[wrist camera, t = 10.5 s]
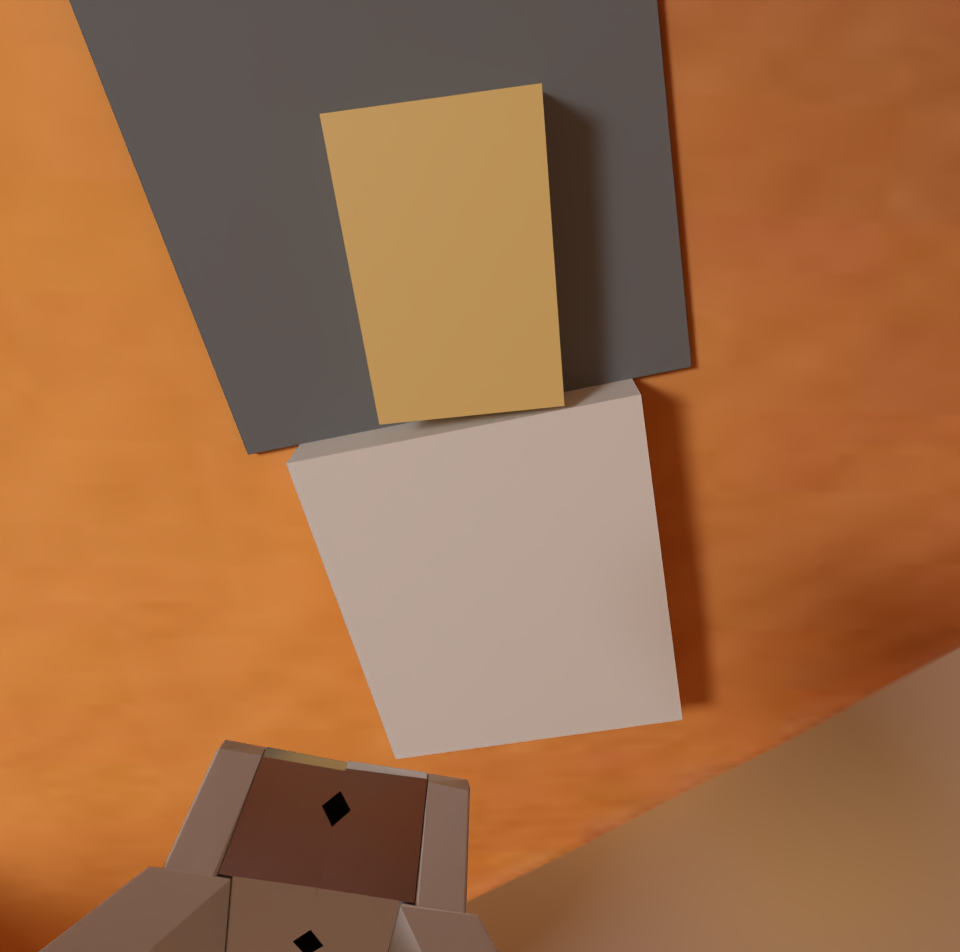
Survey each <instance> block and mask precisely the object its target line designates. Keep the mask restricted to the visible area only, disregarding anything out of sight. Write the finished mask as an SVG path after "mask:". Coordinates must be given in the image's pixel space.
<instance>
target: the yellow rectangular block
mask: <svg viewBox="0 0 960 952" xmlns="http://www.w3.org/2000/svg"><path fill="white" fill-rule="evenodd" d="M320 120H321V125H322V130H323V135H324V140H325V145H326V151H327V156H328V161H329V166H330V171H331V177H332V182H333V187H334V192H335V197H336V203H337V208H338V213H339V218H340V223H341V228H342V234H343V239H344V244H345V249H346V254H347V260H348V265H349V270H350V275H351V280H352V285H353V291H354V296H355V301H356V306H357V311H358V317H359V322H360V327H361V332H362V337H363V342H364V348H365V353H366V358H367V363H368V368H369V374H370V379H371V384H372V389H373V394H374V400H375V405H376V410H377V415H378V420H379V425H382V424H391V423H401V422H411V421H421V420H431V419H441V418H451V417H461V416H470V415H480V414H490V413H500V412H510V411H520V410H530V409H540V408H549V407H559V406H565V405H564V391H563V377H562V363H561V349H560V334H559V320H558V306H557V292H556V278H555V263H554V249H553V235H552V221H551V207H550V192H549V178H548V164H547V150H546V136H545V121H544V107H543V93H542V83H539V84H531V85H524V86H517V87H510V88H503V89H495V90H488V91H481V92H474V93H467V94H459V95H452V96H445V97H438V98H431V99H423V100H416V101H409V102H402V103H394V104H387V105H380V106H373V107H366V108H358V109H351V110H344V111H337V112H330V113H322V114H320Z"/></svg>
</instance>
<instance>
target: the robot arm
mask: <svg viewBox="0 0 960 952" xmlns="http://www.w3.org/2000/svg"><path fill="white" fill-rule="evenodd" d="M469 804H470V786H469V783H468V781H467V780H465V779H459V778H453V777H447V776H440V775H434V774H428V775H427V774H426V772H419V771H413V770H406V769H399V768H393V767H386V766H379V765H372V764H366V763H359V762H352V761H348V762H344V761H338V760H333V759H328V758H323V757H317V756H312V755H307V754H302V753H296V752H291V751H286V750H281V749H275V748H270V747H263V746H257V745H251V744H246V743H240V742H235V741H229V740H225V741H224V742H223V743H222V745H221V746H220V747H219V749H218V750H217V751H216V753H215V755H214V757H213V760H212V762H211V764H210V766H209V768H208V771H207V773H206V775H205V777H204V779H203V781H202V784H201V786H200V788H199V790H198V792H197V794H196V797H195V799H194V801H193V803H192V805H191V807H190V810H189V812H188V814H187V816H186V818H185V820H184V823H183V825H182V827H181V829H180V831H179V834H178V836H177V838H176V840H175V842H174V844H173V847H172V849H171V851H170V853H169V855H168V857H167V860H166V862H165V864H164V866H163V868H158V867H150V866H149V867H147V868H146V869H145V870H143V871H142V872H141V873H140V874H138V875H137V876H136V877H134V878H133V879H132V880H130V881H129V882H128V883H127V884H125V885H124V886H123V887H121V888H120V889H119V890H118V891H116V892H115V893H114V894H112V895H111V896H110V897H108V898H107V899H106V900H105V901H103V902H102V903H101V904H99V905H98V906H97V907H96V908H94V909H93V910H92V911H90V912H89V913H88V914H86V915H85V916H84V917H83V918H81V919H80V920H79V921H77V922H76V923H75V924H74V925H72V926H71V927H70V928H68V929H67V930H66V931H64V932H63V933H62V934H61V935H59V936H58V937H57V938H55V939H54V940H53V941H51V942H50V943H49V944H48V945H46V946H45V947H44V948H42V949H41V950H40V951H39V952H499V951H498V950H497V948H496V946H495V944H494V942H493V940H492V938H491V937H490V935H489V933H488V931H487V929H486V927H485V925H484V924H483V922H482V920H481V918H480V916H479V915H475V914H470V913H466V901H467V869H468V836H469Z"/></svg>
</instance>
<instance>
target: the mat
mask: <svg viewBox="0 0 960 952" xmlns="http://www.w3.org/2000/svg"><path fill="white" fill-rule="evenodd" d="M69 1H70V3H71V6H72V8H73V11H74V14H75V16H76V19H77V21H78V24H79V26H80V29H81V31H82V34H83V36H84V39H85V41H86V44H87V47H88V49H89V52H90V54H91V57H92V59H93V62H94V64H95V67H96V69H97V72H98V75H99V77H100V80H101V82H102V85H103V87H104V90H105V92H106V95H107V97H108V100H109V102H110V105H111V108H112V110H113V113H114V115H115V118H116V120H117V123H118V125H119V128H120V130H121V133H122V135H123V138H124V141H125V143H126V146H127V148H128V151H129V153H130V156H131V158H132V161H133V163H134V166H135V168H136V171H137V174H138V176H139V179H140V181H141V184H142V186H143V189H144V191H145V194H146V196H147V199H148V202H149V204H150V207H151V209H152V212H153V214H154V217H155V219H156V222H157V224H158V227H159V229H160V232H161V235H162V237H163V240H164V242H165V245H166V247H167V250H168V252H169V255H170V257H171V260H172V262H173V265H174V268H175V270H176V273H177V275H178V278H179V280H180V283H181V285H182V288H183V290H184V293H185V295H186V298H187V301H188V303H189V306H190V308H191V311H192V313H193V316H194V318H195V321H196V323H197V326H198V328H199V331H200V334H201V336H202V339H203V341H204V344H205V346H206V349H207V351H208V354H209V356H210V359H211V362H212V364H213V367H214V369H215V372H216V374H217V377H218V379H219V382H220V384H221V387H222V389H223V392H224V395H225V397H226V400H227V402H228V405H229V407H230V410H231V412H232V415H233V417H234V420H235V422H236V425H237V428H238V430H239V433H240V435H241V438H242V440H243V443H244V445H245V448H246V450H247V453H248V455H249V454H254V453H259V452H264V451H269V450H274V449H279V448H284V447H289V446H294V445H299V444H304V443H309V442H314V441H319V440H324V439H330V438H335V437H340V436H345V435H350V434H355V433H360V432H365V431H370V430H375V429H380V428H385V427H390V426H395V425H400V424H405V423H410V422H401V423H391V424H382V425H379V420H378V415H377V410H376V405H375V400H374V394H373V389H372V384H371V379H370V374H369V368H368V363H367V358H366V353H365V348H364V342H363V337H362V332H361V327H360V322H359V317H358V311H357V306H356V301H355V296H354V291H353V285H352V280H351V275H350V270H349V265H348V260H347V254H346V249H345V244H344V239H343V234H342V228H341V223H340V218H339V213H338V208H337V203H336V197H335V192H334V187H333V182H332V177H331V171H330V166H329V161H328V156H327V151H326V145H325V140H324V135H323V130H322V125H321V120H320V114H322V113H330V112H337V111H344V110H351V109H358V108H366V107H373V106H380V105H387V104H394V103H402V102H409V101H416V100H423V99H431V98H438V97H445V96H452V95H459V94H467V93H474V92H481V91H488V90H495V89H503V88H510V87H517V86H524V85H531V84H539V83H542V93H543V107H544V121H545V136H546V150H547V164H548V178H549V192H550V207H551V221H552V235H553V249H554V263H555V278H556V292H557V306H558V320H559V334H560V349H561V363H562V377H563V391H564V392H566V391H571V390H576V389H582V388H587V387H592V386H597V385H602V384H607V383H612V382H617V381H622V380H627V379H632V378H637V377H642V376H647V375H652V374H657V373H662V372H667V371H672V370H677V369H682V368H687V367H691V358H690V347H689V336H688V326H687V315H686V304H685V294H684V283H683V272H682V262H681V251H680V240H679V230H678V219H677V209H676V198H675V187H674V177H673V166H672V155H671V145H670V134H669V123H668V113H667V102H666V91H665V81H664V70H663V59H662V49H661V38H660V27H659V17H658V6H657V0H69ZM411 422H415V421H411Z"/></svg>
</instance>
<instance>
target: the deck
mask: <svg viewBox="0 0 960 952" xmlns="http://www.w3.org/2000/svg"><path fill="white" fill-rule="evenodd" d="M564 405H565V406H559V407H549V408H540V409H530V410H520V411H510V412H500V413H490V414H480V415H470V416H461V417H451V418H441V419H431V420H421V421H415V422H410V423H405V424H400V425H395V426H390V427H385V428H380V429H375V430H370V431H365V432H360V433H355V434H350V435H345V436H340V437H335V438H330V439H324V440H319V441H314V442H309V443H304V444H300V445H299V446H298V448H297V449H296V451H295V452H294V453H293V455H292V456H291V458H290V459H289V461H288V462H287V463H286V464H287V467H288V469H289V472H290V475H291V478H292V480H293V483H294V486H295V488H296V491H297V494H298V496H299V499H300V502H301V504H302V507H303V510H304V513H305V515H306V518H307V521H308V523H309V526H310V529H311V531H312V534H313V537H314V540H315V542H316V545H317V548H318V550H319V553H320V556H321V558H322V561H323V564H324V567H325V569H326V572H327V575H328V577H329V580H330V583H331V585H332V588H333V591H334V594H335V596H336V599H337V602H338V604H339V607H340V610H341V612H342V615H343V618H344V621H345V623H346V626H347V629H348V631H349V634H350V637H351V639H352V642H353V645H354V648H355V650H356V653H357V656H358V658H359V661H360V664H361V666H362V669H363V672H364V675H365V677H366V680H367V683H368V685H369V688H370V691H371V693H372V696H373V699H374V701H375V704H376V707H377V710H378V712H379V715H380V718H381V720H382V723H383V726H384V728H385V731H386V734H387V737H388V739H389V742H390V745H391V747H392V750H393V753H394V755H395V758H396V759H400V758H408V757H415V756H422V755H429V754H437V753H444V752H451V751H459V750H466V749H473V748H480V747H488V746H495V745H502V744H509V743H517V742H524V741H531V740H538V739H546V738H553V737H560V736H567V735H575V734H582V733H589V732H597V731H604V730H611V729H618V728H626V727H633V726H640V725H647V724H655V723H662V722H669V721H676V720H682V712H681V704H680V696H679V688H678V681H677V673H676V665H675V657H674V649H673V641H672V634H671V626H670V618H669V610H668V602H667V594H666V587H665V579H664V571H663V563H662V555H661V547H660V540H659V532H658V524H657V516H656V508H655V500H654V493H653V485H652V477H651V469H650V461H649V453H648V446H647V438H646V430H645V422H644V414H643V406H642V399H641V394H640V392H639V390H638V388H637V386H636V385H635V383H634V381H633V379H627V380H622V381H617V382H612V383H607V384H602V385H597V386H592V387H587V388H582V389H576V390H571V391H566V392H564Z"/></svg>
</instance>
